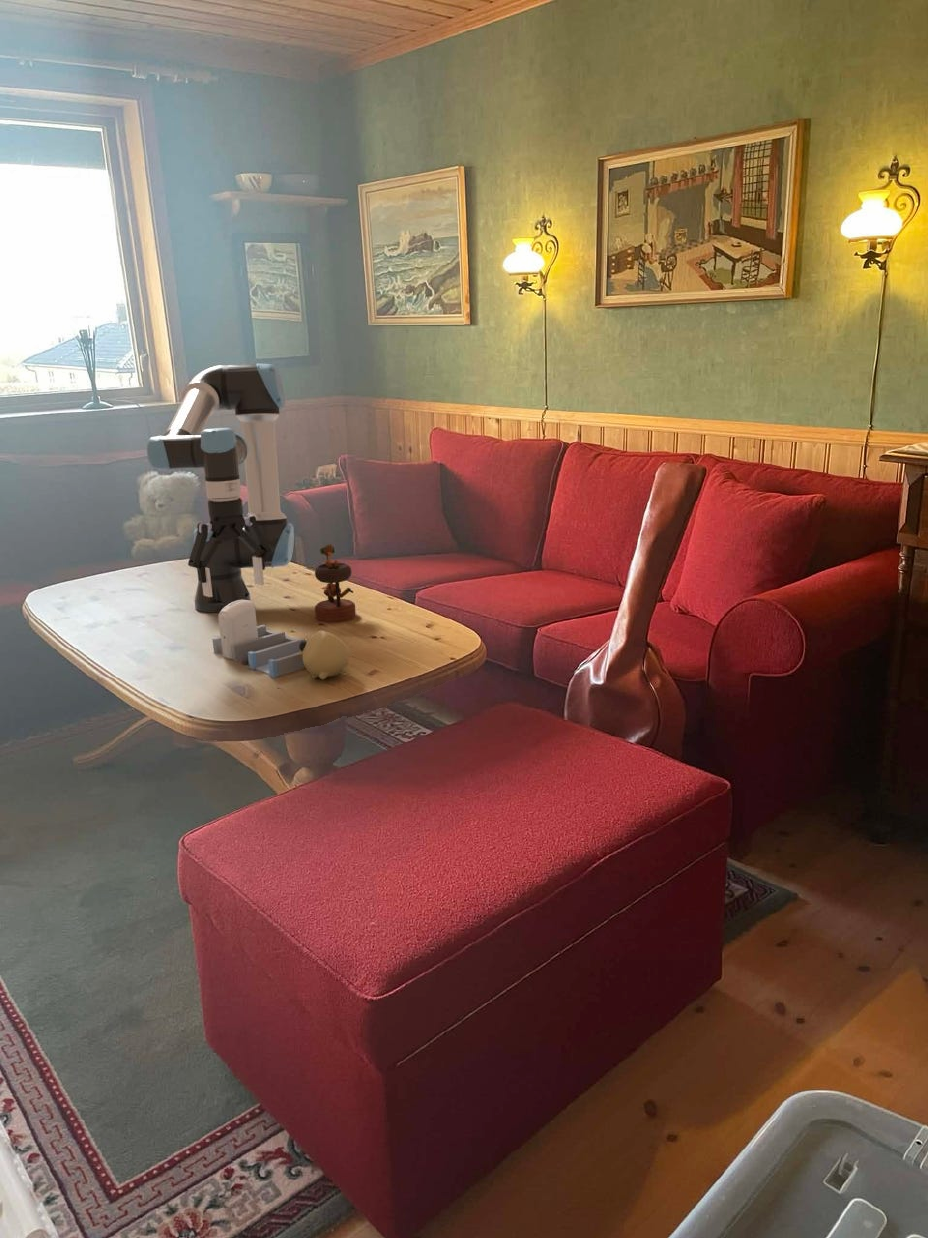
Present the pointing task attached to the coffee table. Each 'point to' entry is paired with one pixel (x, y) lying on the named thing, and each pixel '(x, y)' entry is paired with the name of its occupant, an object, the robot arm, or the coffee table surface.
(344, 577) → the music box
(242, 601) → the photo printer
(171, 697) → the coffee table surface
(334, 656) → the tan frog figure
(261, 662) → the grey shelf rack
